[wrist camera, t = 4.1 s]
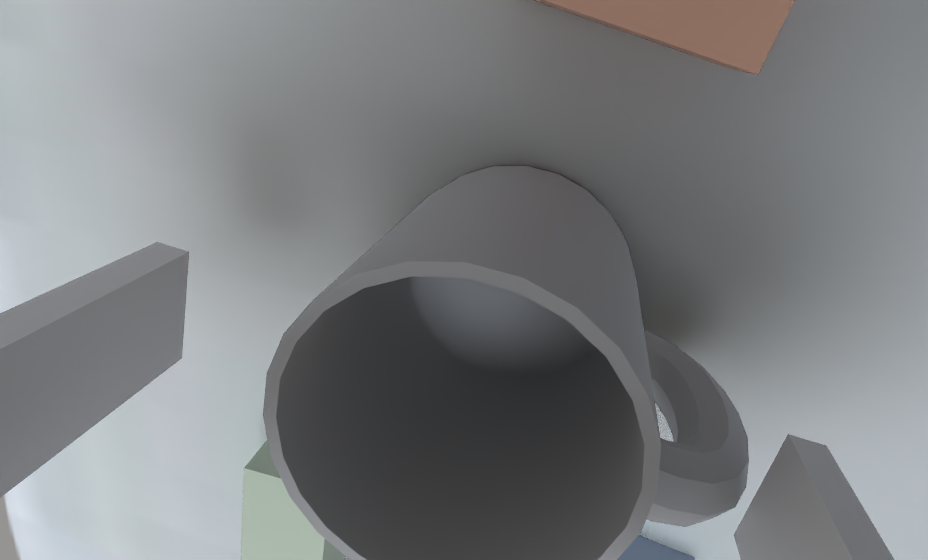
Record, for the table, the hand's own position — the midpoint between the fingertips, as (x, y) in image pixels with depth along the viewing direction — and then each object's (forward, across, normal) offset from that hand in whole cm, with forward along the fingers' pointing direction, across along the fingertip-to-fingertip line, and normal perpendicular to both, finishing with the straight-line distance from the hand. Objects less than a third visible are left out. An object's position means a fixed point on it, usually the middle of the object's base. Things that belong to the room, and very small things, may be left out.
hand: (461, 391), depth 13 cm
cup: (+7, +2, 0) cm, 7 cm away
